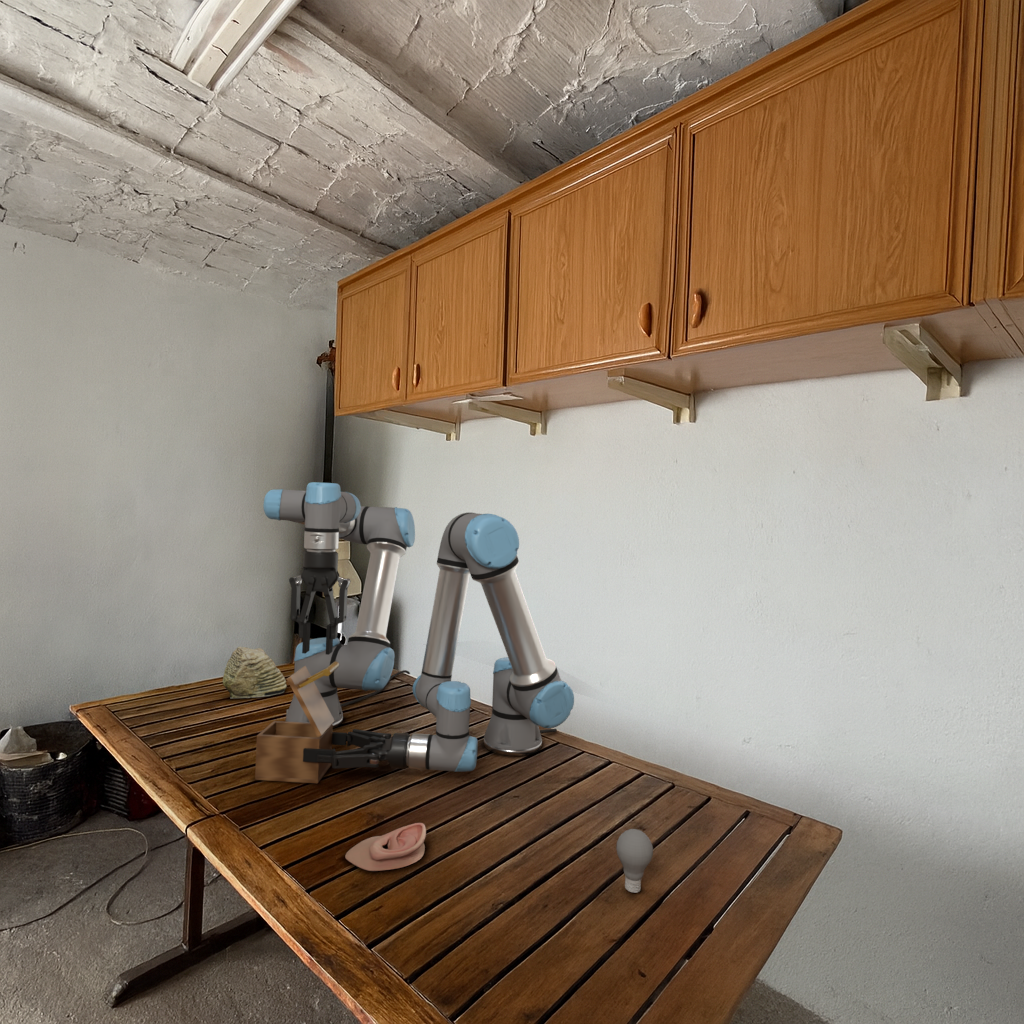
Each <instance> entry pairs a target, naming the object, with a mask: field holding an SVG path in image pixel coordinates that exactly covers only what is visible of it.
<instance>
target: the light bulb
mask: <svg viewBox="0 0 1024 1024" xmlns="http://www.w3.org/2000/svg"><path fill="white" fill-rule="evenodd" d="M615 849H616V854H617V857H618V859H619V861H620V863H621V865H622V867H623V873H624V874H623V875H624V876H625V878H624V888H625V890H627V891H628V892H630V893H634V894H635V893H639V892H640V891H641V889H642V887H641V886H642V879H643V877H644V875H645V871H646V868H647V867H648V866H649V864H650V863H651V861H652V859H653V855H654V847H653V843H652V841H651V838H649V836H648V835H647V834H646V833H645V832H643V831H642V830H641V829H636V828H629V829H627V830H625V831H623V832H622V833H621V834H620V835H619V837H618V839H617V841H616V847H615Z"/></svg>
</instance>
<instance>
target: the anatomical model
mask: <svg viewBox="0 0 1024 1024" xmlns="http://www.w3.org/2000/svg"><path fill="white" fill-rule="evenodd" d="M426 837H427V827H426V824H425V823H423V822H415V823H412V824H408V825H404V826H402V827H399V828H396V829H394V830H392V831H390V832H388V833H384V834H382V835H375V836H372V837H367V838H365V839H364V840H361V841H360V842H358V843H357V844H356V845H353V847H351V848H350V849H349V850H348V851H347V852H346V853H345V856H344V857H345V860H347V862H349V863H350V864H352V865H354V866H356V867H357V868H360V869H362V870H364V871H367V872H378V871H380V872H381V871H389V870H396V869H400V868H404V867H407V866H410V865H412V864H415V863H417V862H418V861H420V860H421V859H422V858H423V857H424V854H425V851H426V849H425V848H426V846H425V843H424V842H425V840H426Z"/></svg>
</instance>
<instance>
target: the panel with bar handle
mask: <svg viewBox="0 0 1024 1024" xmlns="http://www.w3.org/2000/svg"><path fill="white" fill-rule="evenodd" d="M338 667H339V663H338V662H333V663H332V664H331V665H330V666H328V667H327V668H326V669H324V670H322V671H320V672H318V673H316V674H315V675H313V676H311V675H310V673H309V671H308V670H307V668H306V666H304V667H302V668H301V669H299V670H298V671H297V672H295V673H294V672H293V673H292V674H291V675H290V676H288V677H287V678H286V682H287V683H288V684H289V686H290V688H291V690H292V692H293V695H294V694H295V696H296V698H297V699H298V701H299V703H300V705H301V707H302V709H303V711H304V713H305V714H306V716H307V718H308V720H309V722H310V724H311V726H312V728H313V729H314V731H315V733H316V735H317V737H320V736H322V734H323V733H324V732H325V731H326V730H327V729H328V728H329V727H330V725H331V724H332V723H333V722H334V721H335V720H334V718H333V717H332V715H331V713H330V711H329V709H328V707H327V705H326V703H325V702H324V700H323V698H322V696H321V694H320V692H319V690H318V688H317V686H316V685H315V683H314V681H315V680H317V679H319V678H321V677H323V676H329V675H330V674H331V673H332V672H334V671H335V670H336V669H337V668H338Z"/></svg>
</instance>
